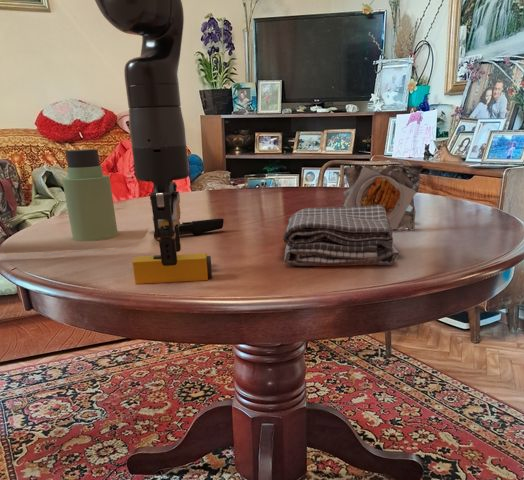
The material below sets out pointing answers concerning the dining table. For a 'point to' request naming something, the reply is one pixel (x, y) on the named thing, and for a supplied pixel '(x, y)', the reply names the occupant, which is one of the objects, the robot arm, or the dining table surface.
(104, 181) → the bottle
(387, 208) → the meal
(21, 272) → the dining table surface
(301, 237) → the towel
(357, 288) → the dining table surface
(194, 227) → the electric trimmer
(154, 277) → the bar
